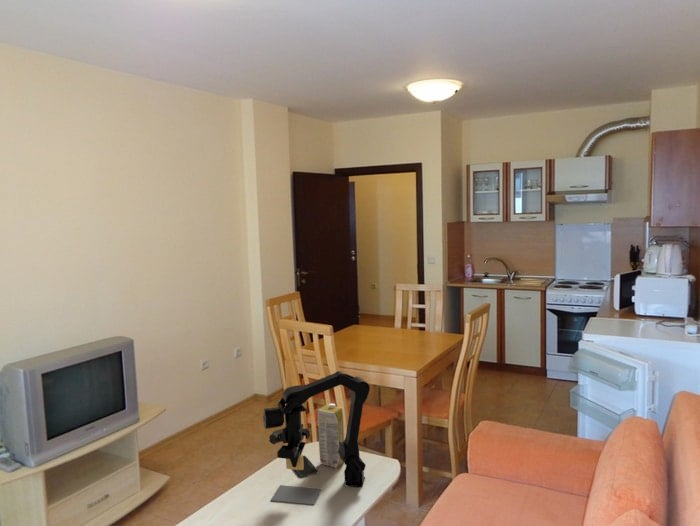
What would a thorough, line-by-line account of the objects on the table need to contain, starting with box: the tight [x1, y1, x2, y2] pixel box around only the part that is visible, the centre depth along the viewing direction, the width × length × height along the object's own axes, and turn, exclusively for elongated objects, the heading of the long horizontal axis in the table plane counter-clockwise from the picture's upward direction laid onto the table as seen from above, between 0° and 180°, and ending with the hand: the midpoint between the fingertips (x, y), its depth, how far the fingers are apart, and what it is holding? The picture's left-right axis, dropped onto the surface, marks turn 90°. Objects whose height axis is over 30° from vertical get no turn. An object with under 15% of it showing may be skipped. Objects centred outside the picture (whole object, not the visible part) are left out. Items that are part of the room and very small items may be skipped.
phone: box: [292, 455, 319, 478], centre depth 210 cm, size 8×1×15 cm
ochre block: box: [285, 454, 304, 470], centre depth 189 cm, size 6×2×5 cm, turn 77°
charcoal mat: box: [270, 484, 322, 506], centre depth 190 cm, size 16×10×1 cm, turn 78°
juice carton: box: [317, 403, 345, 469], centre depth 211 cm, size 9×8×24 cm
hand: (295, 465), depth 189 cm, fingers closed on ochre block, 1 cm apart
